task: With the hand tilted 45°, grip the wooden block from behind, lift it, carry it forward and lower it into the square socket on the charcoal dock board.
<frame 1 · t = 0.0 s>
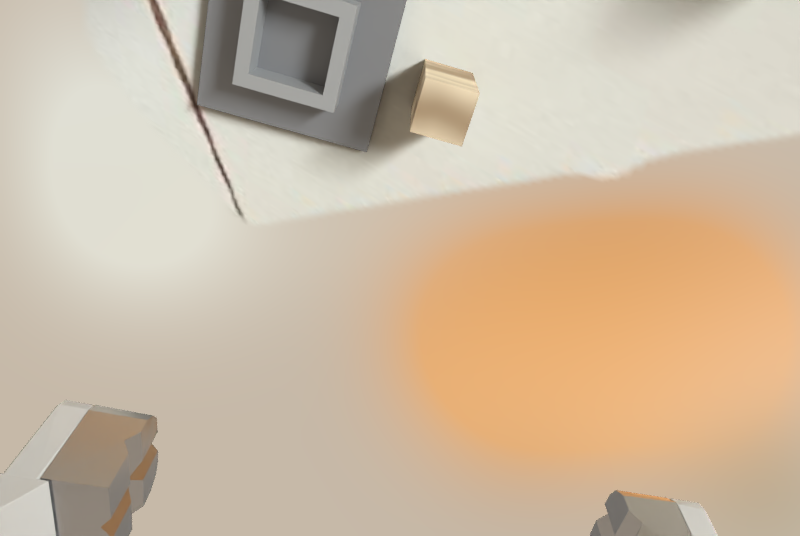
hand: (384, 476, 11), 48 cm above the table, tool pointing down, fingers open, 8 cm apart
wooden block: (441, 90, 54), on the table
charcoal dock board: (301, 38, 53), on the table
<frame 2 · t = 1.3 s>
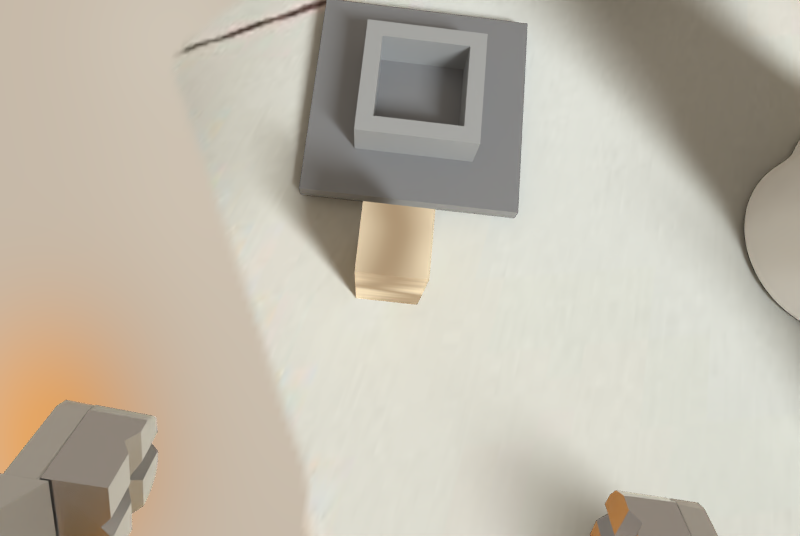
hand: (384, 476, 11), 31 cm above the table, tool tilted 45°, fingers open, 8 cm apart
wooden block: (389, 271, 43), on the table
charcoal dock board: (417, 109, 47), on the table
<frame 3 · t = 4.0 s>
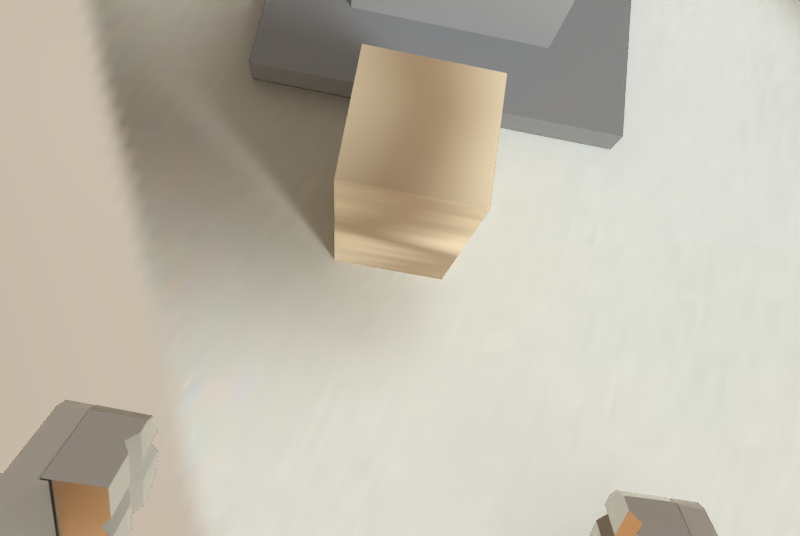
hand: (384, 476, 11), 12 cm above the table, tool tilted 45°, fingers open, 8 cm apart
wooden block: (396, 219, 25), on the table
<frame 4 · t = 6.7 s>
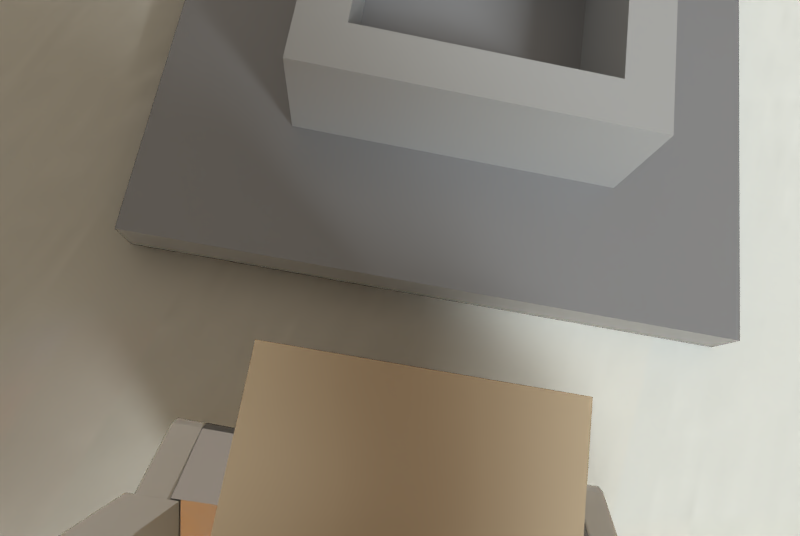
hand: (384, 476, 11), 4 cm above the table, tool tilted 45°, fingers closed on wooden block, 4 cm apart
wooden block: (365, 491, 15), on the table, touching gripper
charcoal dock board: (466, 46, 18), on the table
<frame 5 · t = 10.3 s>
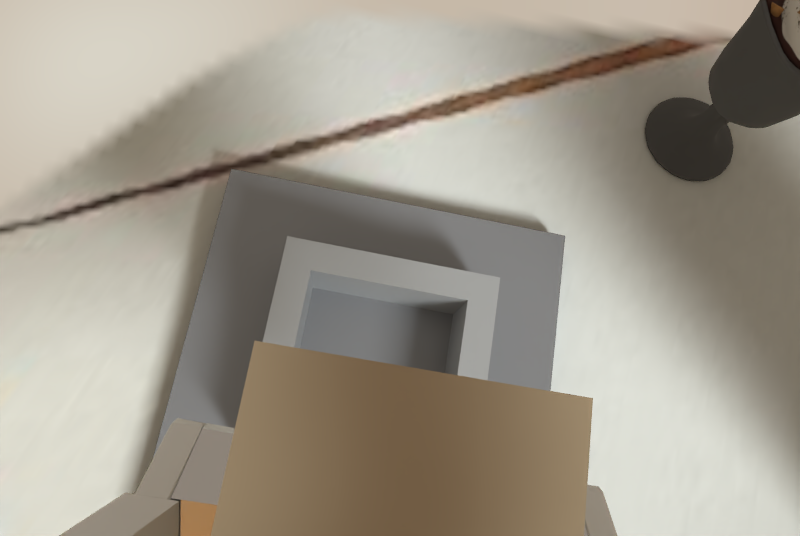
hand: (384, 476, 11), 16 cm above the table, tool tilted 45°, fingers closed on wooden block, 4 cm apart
sundae: (686, 141, 32), on the table
wooden block: (365, 491, 15), point 12 cm above the table, touching gripper
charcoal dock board: (368, 374, 27), on the table
when the fingers open (7 cm above the table, at t = 13.8 s): wooden block drops 1 cm, resting on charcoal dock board.
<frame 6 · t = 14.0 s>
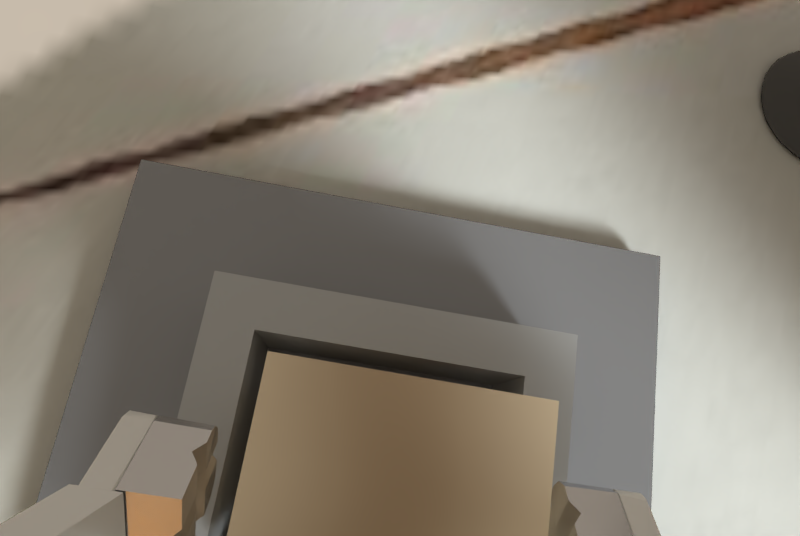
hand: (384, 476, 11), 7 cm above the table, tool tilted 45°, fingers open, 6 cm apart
wooden block: (363, 485, 16), point 1 cm above the table, touching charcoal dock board
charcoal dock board: (360, 482, 17), on the table
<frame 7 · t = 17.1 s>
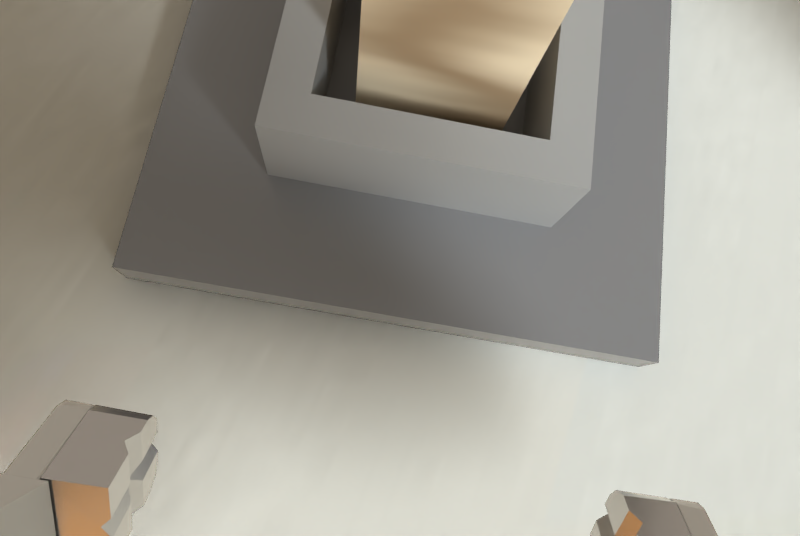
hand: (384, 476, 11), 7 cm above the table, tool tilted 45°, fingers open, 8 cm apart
wooden block: (432, 76, 19), point 1 cm above the table, touching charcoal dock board
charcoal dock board: (426, 96, 21), on the table
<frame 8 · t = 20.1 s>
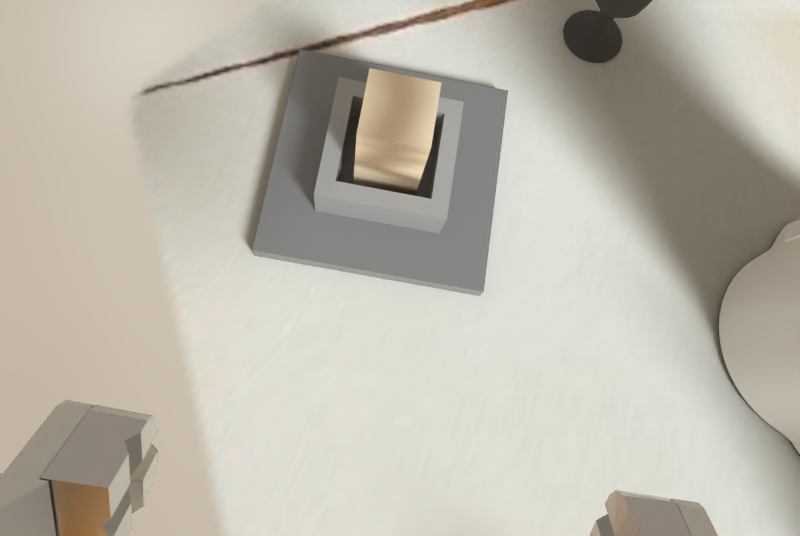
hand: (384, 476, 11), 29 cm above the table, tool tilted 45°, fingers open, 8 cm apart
sundae: (591, 38, 49), on the table
wooden block: (388, 165, 43), point 1 cm above the table, touching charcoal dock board
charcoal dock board: (386, 172, 44), on the table
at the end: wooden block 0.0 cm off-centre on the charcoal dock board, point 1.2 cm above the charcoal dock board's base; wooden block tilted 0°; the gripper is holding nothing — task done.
